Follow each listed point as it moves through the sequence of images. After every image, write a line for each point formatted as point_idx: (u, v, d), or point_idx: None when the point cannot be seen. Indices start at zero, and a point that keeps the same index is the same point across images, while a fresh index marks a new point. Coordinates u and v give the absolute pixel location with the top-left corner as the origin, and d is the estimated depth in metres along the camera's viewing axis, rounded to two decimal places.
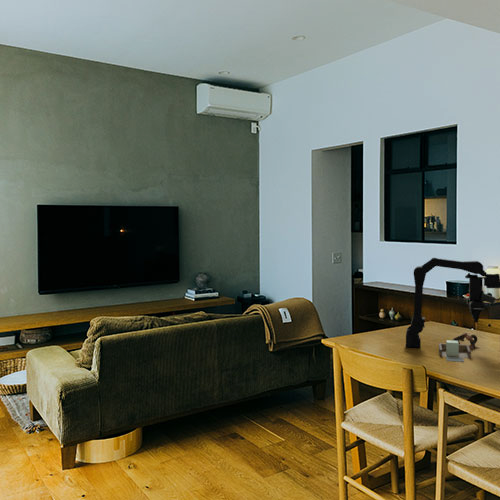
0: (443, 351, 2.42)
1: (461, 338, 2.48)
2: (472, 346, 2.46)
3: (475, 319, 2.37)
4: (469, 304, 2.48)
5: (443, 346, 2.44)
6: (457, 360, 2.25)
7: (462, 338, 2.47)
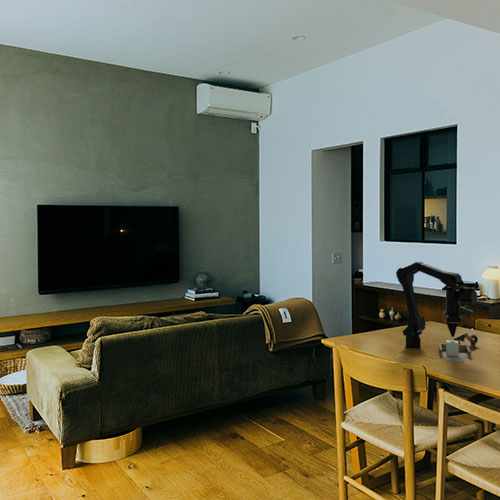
0: (443, 351, 2.42)
1: (461, 338, 2.47)
2: (472, 346, 2.46)
3: (451, 333, 2.31)
4: None
5: (443, 346, 2.44)
6: (457, 360, 2.25)
7: (462, 338, 2.47)
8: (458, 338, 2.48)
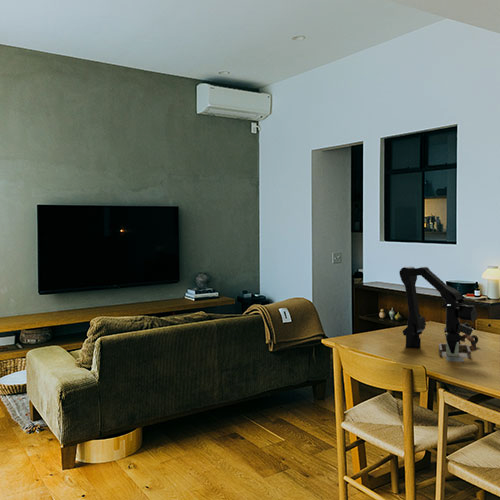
0: (443, 351, 2.42)
1: (462, 338, 2.47)
2: (473, 346, 2.45)
3: (451, 350, 2.33)
4: None
5: (443, 346, 2.44)
6: (457, 360, 2.25)
7: (463, 338, 2.46)
8: None
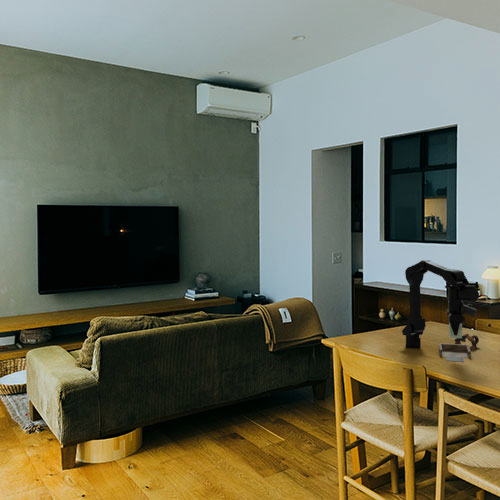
0: (443, 351, 2.42)
1: (463, 339, 2.46)
2: (474, 347, 2.44)
3: (454, 332, 2.24)
4: None
5: (443, 346, 2.44)
6: (457, 360, 2.25)
7: (464, 339, 2.46)
8: (459, 339, 2.47)
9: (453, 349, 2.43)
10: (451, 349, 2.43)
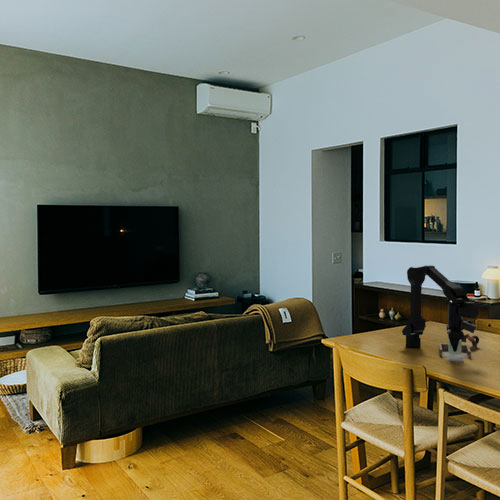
0: (443, 351, 2.42)
1: (463, 339, 2.46)
2: (474, 347, 2.44)
3: (454, 348, 2.25)
4: None
5: (443, 346, 2.44)
6: (457, 360, 2.25)
7: (464, 339, 2.45)
8: None
9: None
10: None
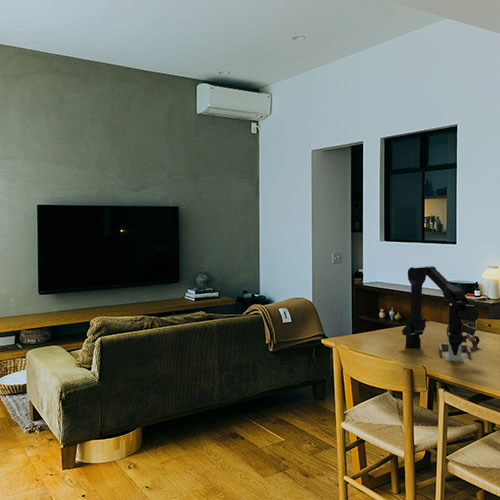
0: (443, 351, 2.42)
1: None
2: (475, 347, 2.44)
3: (454, 352, 2.23)
4: (448, 334, 2.33)
5: (443, 346, 2.44)
6: None
7: (464, 339, 2.45)
8: None
9: None
10: None
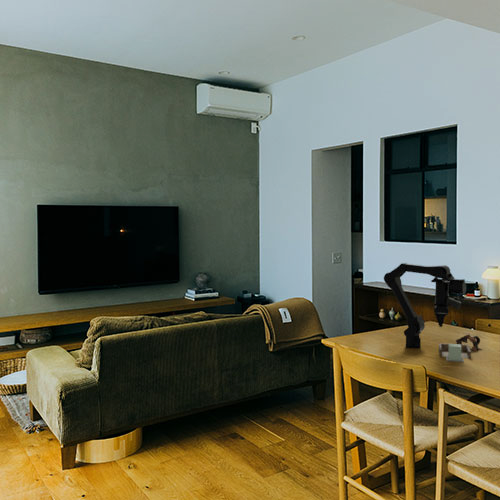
0: (443, 351, 2.42)
1: (464, 339, 2.45)
2: (475, 347, 2.43)
3: (439, 323, 2.38)
4: None
5: (443, 346, 2.44)
6: None
7: (465, 339, 2.44)
8: (461, 339, 2.45)
9: None
10: None
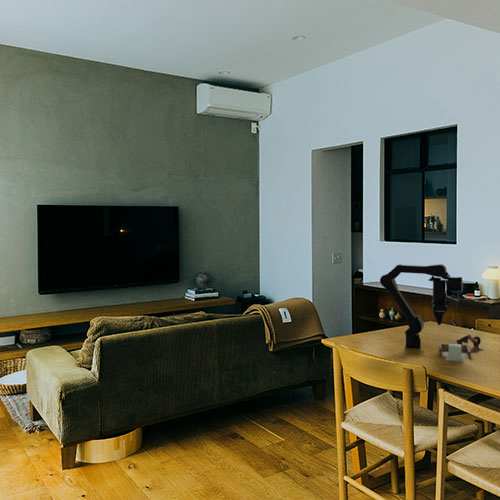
0: (443, 351, 2.42)
1: (465, 340, 2.44)
2: (476, 348, 2.42)
3: (438, 321, 2.41)
4: None
5: (443, 346, 2.44)
6: None
7: (466, 340, 2.44)
8: (461, 340, 2.45)
9: None
10: None
